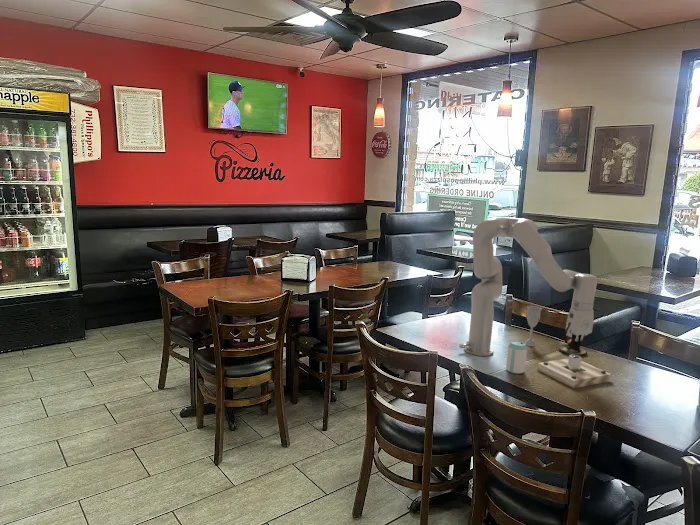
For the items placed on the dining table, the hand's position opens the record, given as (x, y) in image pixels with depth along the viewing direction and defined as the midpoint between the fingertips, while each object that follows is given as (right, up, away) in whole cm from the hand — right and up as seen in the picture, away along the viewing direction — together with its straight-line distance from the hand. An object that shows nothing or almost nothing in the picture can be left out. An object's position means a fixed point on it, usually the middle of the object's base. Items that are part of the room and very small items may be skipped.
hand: (574, 349), depth 193 cm
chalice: (-4, -4, +36) cm, 37 cm away
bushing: (0, -11, +2) cm, 11 cm away
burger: (+12, -7, +29) cm, 32 cm away
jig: (0, -11, +2) cm, 11 cm away
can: (-23, -10, +3) cm, 25 cm away
